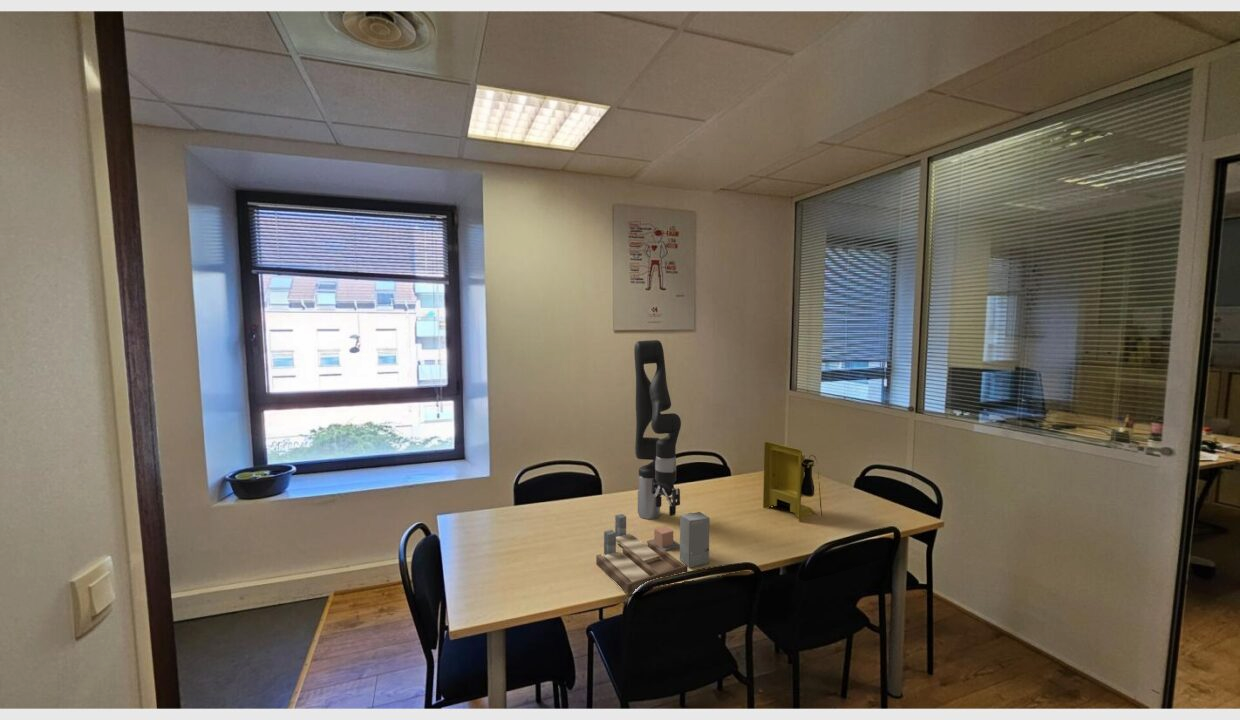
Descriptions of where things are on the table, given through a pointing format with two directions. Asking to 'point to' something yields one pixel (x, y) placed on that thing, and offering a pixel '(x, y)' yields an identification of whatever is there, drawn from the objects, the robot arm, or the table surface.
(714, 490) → the table surface
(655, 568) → the lane board
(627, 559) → the strip
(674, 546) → the pad
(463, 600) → the table surface
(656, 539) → the cube
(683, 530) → the skincare box
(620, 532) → the strip
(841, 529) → the table surface
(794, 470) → the vintage telephone
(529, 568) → the table surface
